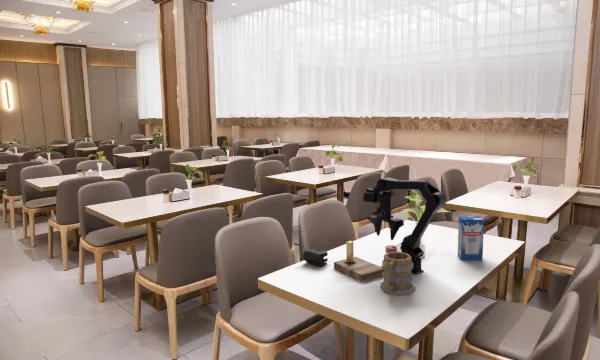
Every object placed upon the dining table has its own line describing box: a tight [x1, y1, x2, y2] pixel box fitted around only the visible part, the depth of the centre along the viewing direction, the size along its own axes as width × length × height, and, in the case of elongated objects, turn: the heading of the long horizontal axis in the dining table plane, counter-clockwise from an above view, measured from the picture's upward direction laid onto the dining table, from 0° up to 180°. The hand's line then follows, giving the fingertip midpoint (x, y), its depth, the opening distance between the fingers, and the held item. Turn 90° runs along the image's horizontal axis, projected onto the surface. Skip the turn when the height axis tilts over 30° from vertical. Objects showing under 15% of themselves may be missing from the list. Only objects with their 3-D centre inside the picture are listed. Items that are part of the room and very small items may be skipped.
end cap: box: [302, 248, 329, 267], centre depth 205 cm, size 10×7×7 cm
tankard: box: [380, 251, 416, 296], centre depth 170 cm, size 20×13×15 cm, turn 141°
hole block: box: [333, 256, 384, 283], centre depth 193 cm, size 20×13×3 cm, turn 32°
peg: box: [345, 240, 355, 265], centre depth 196 cm, size 3×3×13 cm
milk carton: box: [457, 215, 485, 262], centre depth 205 cm, size 10×6×20 cm, turn 84°
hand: (385, 237), depth 200 cm, fingers open, 9 cm apart
